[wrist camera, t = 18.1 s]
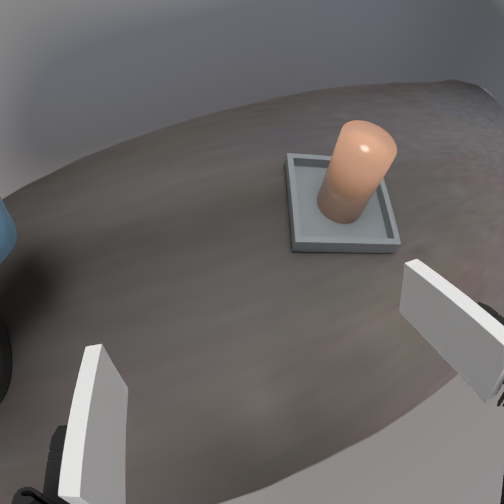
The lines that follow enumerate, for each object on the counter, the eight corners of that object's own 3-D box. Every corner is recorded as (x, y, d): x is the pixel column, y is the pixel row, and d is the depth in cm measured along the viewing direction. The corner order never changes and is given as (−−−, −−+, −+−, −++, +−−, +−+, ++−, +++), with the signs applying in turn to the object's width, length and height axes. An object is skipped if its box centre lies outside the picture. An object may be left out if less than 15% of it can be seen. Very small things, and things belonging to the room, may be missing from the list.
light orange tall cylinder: (320, 223, 39) (348, 159, 29) (313, 183, 42) (335, 117, 31) (366, 224, 40) (404, 165, 29) (356, 185, 43) (387, 124, 32)
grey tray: (291, 251, 38) (295, 242, 36) (284, 165, 44) (286, 153, 42) (392, 253, 39) (401, 244, 37) (372, 171, 45) (378, 161, 43)
